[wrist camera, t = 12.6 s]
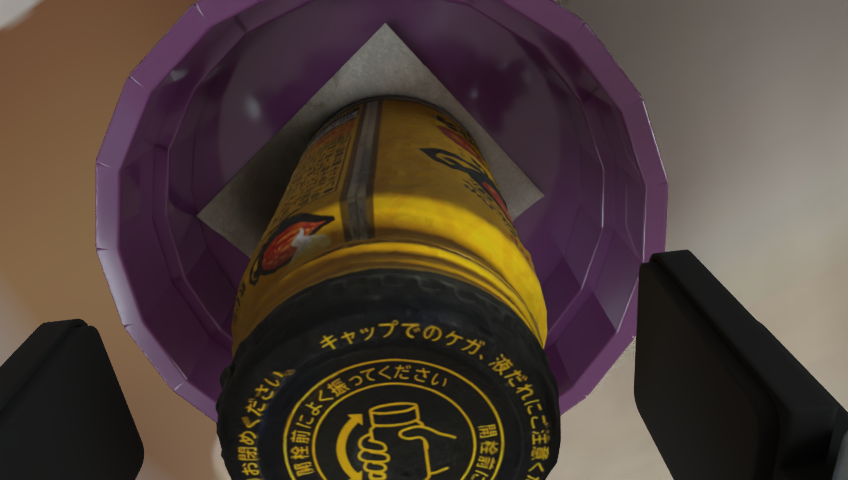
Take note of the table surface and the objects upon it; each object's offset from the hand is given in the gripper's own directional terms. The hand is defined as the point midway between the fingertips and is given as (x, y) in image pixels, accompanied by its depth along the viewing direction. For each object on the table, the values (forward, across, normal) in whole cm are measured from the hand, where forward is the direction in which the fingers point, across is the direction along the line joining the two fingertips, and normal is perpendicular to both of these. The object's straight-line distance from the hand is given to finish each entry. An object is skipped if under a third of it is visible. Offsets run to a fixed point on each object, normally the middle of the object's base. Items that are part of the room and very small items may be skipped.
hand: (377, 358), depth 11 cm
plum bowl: (+10, 0, +1) cm, 10 cm away
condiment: (+10, +1, +1) cm, 10 cm away
